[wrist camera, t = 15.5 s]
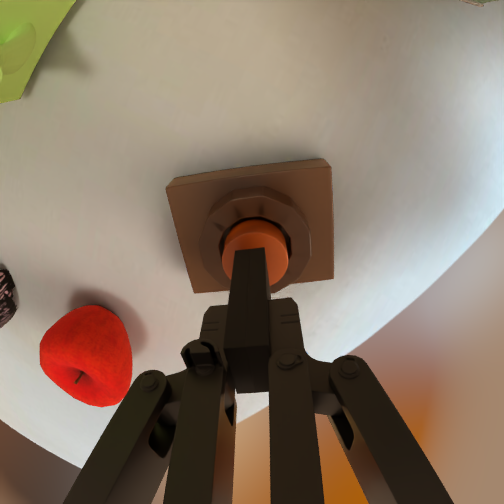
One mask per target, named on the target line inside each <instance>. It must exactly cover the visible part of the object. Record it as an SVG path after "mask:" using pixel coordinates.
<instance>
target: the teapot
mask: <svg viewBox="0 0 504 504" xmlns="http://www.w3.org/2000/svg"><path fill="white" fill-rule="evenodd" d="M75 1H76V0H0V103H4V102H8V101H13V100H18V99H20V98H21V96H22V93H23V91H24V89H25V87H26V85H27V82H28V80H29V78H30V76H31V74H32V72H33V70H34V68H35V66H36V64H37V62H38V60H39V59H40V57H41V55H42V53H43V51H44V50H45V48H46V46H47V44H48V43H49V41H50V39H51V38H52V36H53V34H54V33H55V31H56V29H57V28H58V26H59V25H60V23H61V22H62V20H63V19H64V17H65V16H66V14H67V13H68V11H69V10H70V8H71V7H72V5H73V4H74V3H75Z"/></svg>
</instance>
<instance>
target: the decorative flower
mask: <svg viewBox="0 0 504 504" xmlns="http://www.w3.org/2000/svg"><path fill="white" fill-rule="evenodd" d="M14 287H15V285H14V282H13V280H12V277H11V275H10V274H9V271H7V270H5V269H2V270H0V328H1V327H3V326H4V325H5V324H6V323H7V322H8V321H9V320H11V318H12V317H13V316H14V314H15V312H16V310H17V309H16V306H17V305H16V306H15V303H14V302H13V300H12V297H13V288H14Z"/></svg>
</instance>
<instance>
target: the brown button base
mask: <svg viewBox="0 0 504 504" xmlns="http://www.w3.org/2000/svg"><path fill="white" fill-rule="evenodd" d="M166 193H167V197H168V201H169V205H170V209H171V213H172V217H173V221H174V224H175V228H176V232H177V236H178V239H179V243H180V247H181V250H182V254H183V257H184V261H185V264H186V268H187V271H188V275H189V278H190V282H191V285H192V288H193V292H194V293H206V292H218V291H228V290H230V285H231V279H230V278H229V277H228V276H227V274H226V273H225V271H224V269H223V265H222V255H223V250H224V245H225V240H226V237H227V235H228V233H229V232H230V231H231V229H232V228H233V227H235V226H236V225H237V224H239V223H241V222H244V221H247V220H253V219H257V220H264V221H267V222H269V223H272V224H273V225H275V226H276V227H277V228H278V229H279V230H280V231H281V232H282V234H283V236H284V238H285V241H286V247H287V253H288V267H287V270H286V272H285V274H284V275H283V277H282V278H281V279H280V280H279V281H278V282H276V283H275V284H273V285H271V286H270V293H276V292H278V291H279V290H281V289H283V288H284V287H286V286H288V285H289V284H296V283H304V282H313V281H321V280H329V279H334V219H333V191H332V171H331V166H330V165H329V164H328V163H327V162H326V161H325V160H324V159H313V160H302V161H292V162H282V163H273V164H264V165H256V166H249V167H241V168H234V169H227V170H220V171H213V172H207V173H201V174H195V175H189V176H183V177H178V178H174V179H173V180H172V181H171V182H170V183H169V185H168V186H167V187H166Z"/></svg>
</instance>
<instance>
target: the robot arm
mask: <svg viewBox="0 0 504 504" xmlns="http://www.w3.org/2000/svg"><path fill="white" fill-rule="evenodd" d="M181 356H182V358H183V360H184V362H185V364H186V367H187V369H185V370H183V371H181V372H178V373H175V374H171V375H168V376H165V375H164V374H163V372H160V371H158V370H149V371H145V372H143V373H142V374H140V375H139V376H138V377H137V378H136V379H135V381H134V382H133V384H132V385H131V387H130V389H129V390H128V392H127V394H126V395H125V397H124V399H123V400H122V402H121V404H120V405H119V407H118V409H117V410H116V412H115V414H114V415H113V417H112V419H111V420H110V422H109V424H108V425H107V427H106V429H105V430H104V432H103V434H102V435H101V437H100V439H99V441H98V442H97V444H96V446H95V447H94V449H93V451H92V453H91V454H90V456H89V458H88V460H87V461H86V463H85V465H84V467H83V468H82V470H81V472H80V474H79V476H78V477H77V479H76V481H75V483H74V484H73V486H72V488H71V490H70V491H69V493H68V495H67V497H66V499H65V501H64V502H63V504H151V503H152V500H153V498H154V496H155V494H156V492H157V490H158V488H159V485H160V483H161V481H162V479H163V477H164V474H165V472H166V470H167V468H168V466H169V469H168V475H167V481H166V487H165V494H164V500H163V504H232V494H233V473H234V452H235V451H234V450H235V432H236V413H237V404H236V400H235V388H236V392H237V394H240V393H257V392H269V421H270V423H269V424H270V483H271V484H270V485H271V486H270V490H271V504H324V494H323V484H322V474H321V466H320V456H319V447H318V439H317V430H316V422H315V414H314V413H317V414H323V415H327V417H328V419H329V421H330V423H331V425H332V427H333V429H334V431H335V433H336V435H337V438H338V440H339V442H340V444H341V446H342V448H343V450H344V452H345V454H346V456H347V459H348V461H349V463H350V465H351V467H352V469H353V471H354V473H355V475H356V477H357V479H358V482H359V484H360V486H361V488H362V490H363V492H364V494H365V496H366V499H367V501H368V503H369V504H454V503H453V501H452V499H451V498H450V496H449V494H448V492H447V491H446V489H445V488H444V486H443V484H442V482H441V481H440V479H439V477H438V476H437V474H436V472H435V471H434V469H433V467H432V466H431V464H430V462H429V461H428V459H427V457H426V456H425V454H424V452H423V451H422V449H421V448H420V446H419V444H418V443H417V441H416V440H415V438H414V436H413V435H412V433H411V431H410V430H409V428H408V427H407V425H406V423H405V422H404V420H403V419H402V417H401V416H400V414H399V412H398V411H397V409H396V408H395V406H394V404H393V403H392V401H391V400H390V398H389V397H388V395H387V394H386V392H385V391H384V389H383V387H382V386H381V384H380V383H379V381H378V380H377V378H376V377H375V375H374V374H373V372H372V371H371V369H370V368H369V366H368V365H367V363H366V362H365V361H364V360H363V359H362V358H359V357H357V356H353V355H345V356H341V357H339V358H337V359H335V360H334V361H333V362H332V363H329V362H322V361H318V360H315V359H313V358H311V357H310V356H309V355H308V354H307V353H306V351H305V349H304V344H303V337H302V331H301V324H300V318H299V312H298V306H297V304H296V302H295V301H294V300H293V299H292V298H282V299H273V300H271V293H270V284H269V276H268V269H267V261H266V254H265V247H261V248H253V249H244V250H235V253H234V261H233V269H232V277H231V285H230V293H229V301H228V305H218V306H210V307H209V308H208V310H207V311H206V312H205V314H204V317H203V322H202V327H201V332H200V337H199V339H197V340H193V341H191V342H189V343H188V344H187V345H185V346H184V347H183V349H182V351H181Z"/></svg>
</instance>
